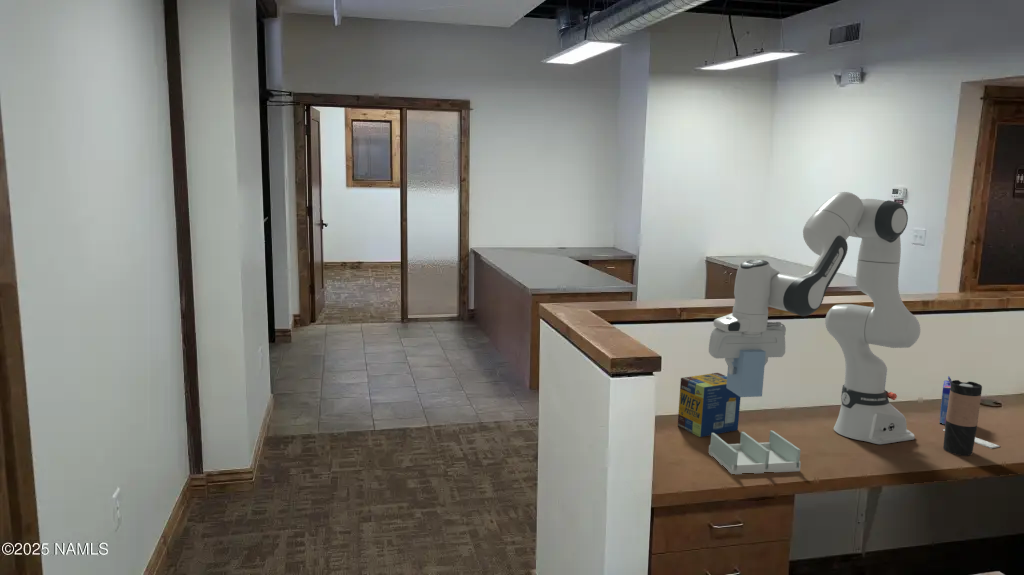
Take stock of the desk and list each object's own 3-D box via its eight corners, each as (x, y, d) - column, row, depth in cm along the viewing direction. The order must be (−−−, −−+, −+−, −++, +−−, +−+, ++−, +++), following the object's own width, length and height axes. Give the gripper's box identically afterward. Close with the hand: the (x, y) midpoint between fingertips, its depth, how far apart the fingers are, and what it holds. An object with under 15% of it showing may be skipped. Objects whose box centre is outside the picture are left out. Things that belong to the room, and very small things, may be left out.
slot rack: (772, 450, 203) (774, 430, 202) (799, 471, 189) (802, 449, 188) (708, 453, 200) (709, 432, 199) (732, 474, 186) (733, 452, 185)
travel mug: (961, 457, 201) (970, 389, 198) (936, 447, 208) (944, 381, 205) (979, 454, 204) (988, 386, 201) (953, 444, 211) (962, 378, 208)
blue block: (746, 387, 195) (750, 344, 193) (761, 396, 187) (765, 351, 185) (726, 387, 194) (729, 344, 192) (740, 397, 186) (744, 352, 184)
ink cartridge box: (939, 415, 237) (944, 372, 235) (958, 418, 234) (964, 375, 232) (938, 423, 229) (943, 379, 227) (958, 427, 226) (964, 383, 224)
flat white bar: (953, 430, 224) (953, 427, 224) (1001, 448, 211) (1002, 444, 211) (942, 432, 222) (942, 428, 222) (990, 450, 209) (991, 446, 209)
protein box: (676, 426, 221) (679, 377, 218) (714, 419, 228) (718, 372, 225) (700, 437, 211) (703, 387, 209) (739, 430, 218) (743, 381, 216)
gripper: (779, 319, 192) (775, 369, 194) (708, 320, 189) (704, 371, 191) (792, 324, 186) (787, 375, 188) (718, 325, 183) (714, 377, 185)
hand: (745, 373), depth 190 cm, fingers closed on blue block, 6 cm apart
